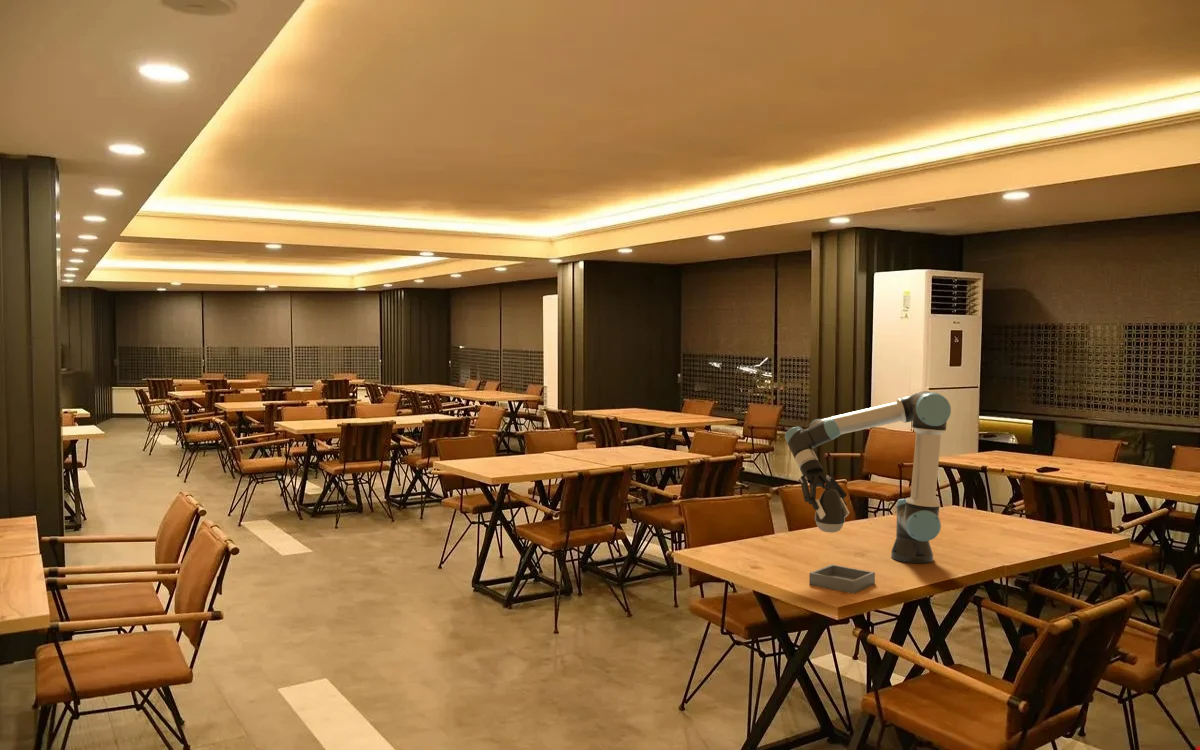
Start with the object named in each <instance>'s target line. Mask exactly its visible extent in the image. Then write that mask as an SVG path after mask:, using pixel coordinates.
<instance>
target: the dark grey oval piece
mask: <svg viewBox="0 0 1200 750" xmlns="http://www.w3.org/2000/svg"><path fill="white" fill-rule="evenodd" d="M818 500H819V502H820V504H821V506H822V508H823V510H824V512H825V514H826V515H825V516H824V518H823V519H820V517H819V515H818V513H817V511H816V510H815V514H814V515H815V516H814V521H815V524H816V526H817V528H818V529H819V530H820V531H821V532H824V533H831V534H833V533H837V532H839V531H841V529H842V528H843V526H844V523H845V522H846V521H845V518H846V517H844V510H843V505H842V501H841V498H840V496H839V494H838V492H837V491H836V490H834V489H832V488H829V489H828V488H826V489H824V491H823V492H821V494H820V497H819V499H818Z"/></svg>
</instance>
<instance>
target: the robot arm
mask: <svg viewBox="0 0 1200 750" xmlns="http://www.w3.org/2000/svg"><path fill="white" fill-rule="evenodd" d="M951 413H952V408H951V404H950V403H949V400H948V399H947V398H946V397H945V396H944V395H942V394H941V393H938V392H934V391H933V392H932V391H926V390H924V391H919V392H916V393H914V394H911V395H907V396H903V397H900V398H899V397H898V398H897V399H896V401H894V402H890V403H885V404H881V405H877V406H872V407H869V408H868V407H867V408H863V409H859V410H855V411H851V412H846V413H843V414H842V413H841V414H838V415H832V416H829V417H824V418H816V419H813V420H812V421H811V422H810V423H809V427H807V428H805V429H803V428H802V426H793V427H790V428H788V430H787V431H786V432H785V434H784V439H785V441H786V443H787V447H788V448H789V450H790V453H792V456H793V458H794V461H795V462H796V464H797V466H798V469H799V470H800V472H801V474H802V475H801V476H800V478H799V479H798V482H799V484H800V486H801V491H802V496H803V499H804V502H805V503H807V502H808V505H811V506H812V508H813V510H814V511H815V512H816V511H817V513H818V515H819V517H820V519H823V518H824V516H825V515H826V514H825V512H824V510H823V508H822V506H821V504H820V502H819V499H818V498H817V499H816V496H817V488H818V487H820V488H822V489H823V490H825V489H826V488H828V489H829V488H832V489H834V490H836V491H837V492H838V494H839V496H840V498H841V501H842V505H843V510H844V517H845V518H847V517H848V516H849V514H850V510H849V508H848V507H847V505H848V504H847V502H846V501H845V498H846V497H847V495H848V494H847V493H846V492H845V491H844V489H843V488H842V487H841V486H840V484H839V483H838V481H836V480H837V479H835V477H834V475H833V474H832V473H830V474H829V475H828V474H825V472H824V469H823V466H822V464H821V462H820V461H819V458H818V456H817V454H816V453H815V451H814V449H815V448H817V447H819V446H821V445H824V444H825V443H828V442H831V441H834V440H835V439H837V438H839V437H840V436H841V435H844V434H849V433H853V432H859V431H861V430H862V431H863V430H868V429H871V428H876V427H880V426H885V425H889V424H893V423H899V422H902V423H904V424H906V423H911V422H912V423H911V424H912V425H911V428H912V429H913V430H914V432H915V442H914V453H913V466H912V475H911V488H910V497H908V498H900V499H897V501H896V529H895V530H896V532H895V534H896V535H895V537H896V538H895V540H894V543H893V546H892V548H891V553H890V555H891V559H893V560H896V561H899V562H903V563H911V564H928V563H932V562H933V561H934V553H933V549H932V546H931V544H930V541H932V540H934V539H935V538H937V537H938V535H939V534H940V532H941V527H942V524H941V519H940V518H939V516H940V515H939V513H940V504H939V502H938V501H937V498H936V497H937V485H938V484H937V483H938V476H939V475H938V474H939V463H940V450H941V439H942V435H943V434H944V433H945V432H947V422H948V420H949V418H951V417H950V416H951ZM808 483H809V484H808Z"/></svg>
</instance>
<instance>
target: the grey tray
mask: <svg viewBox="0 0 1200 750" xmlns="http://www.w3.org/2000/svg"><path fill="white" fill-rule="evenodd" d="M808 576H809V585H810V586H815V587H818V586H819V588H823V587H824V588H823V589H828V588H829V589H828V590H833V589H834V591H838V590H839V592H843V591H844V592H843V593H847V592H849V593H848V594H852V593H854V594H857V593H859V592H860V590H861V591H863V590H864V589H867V588H869V587H871V585H872V586H873V584H874V585H875V584H876V583H875V582H876V572H875V571H870V570H864V569H858V568H853V567H848V566H842V565H837V564H828V565H826V566H824V567H821V568H819V569H815V570H814V571H811V572H809V575H808ZM858 591H859V592H858Z"/></svg>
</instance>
